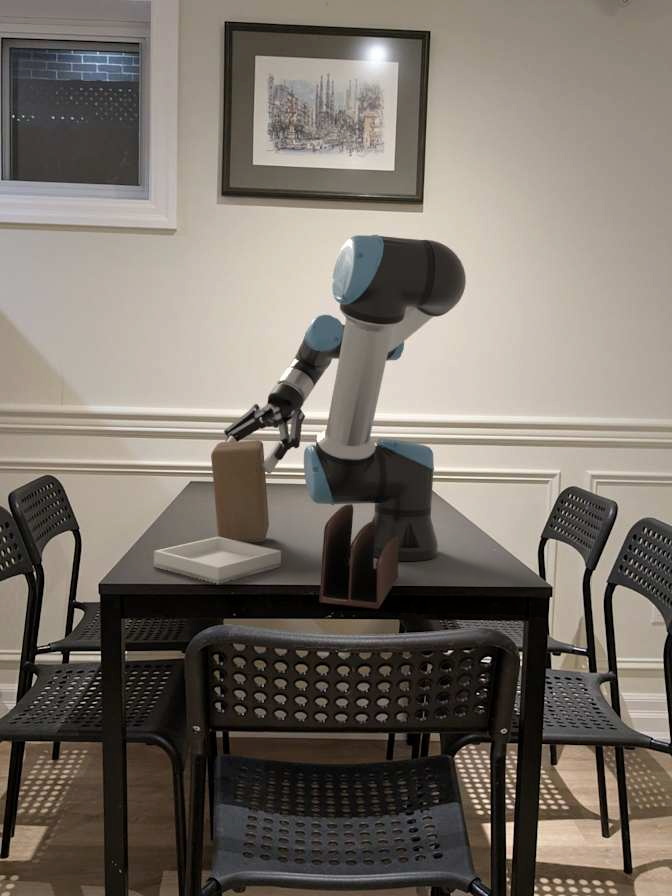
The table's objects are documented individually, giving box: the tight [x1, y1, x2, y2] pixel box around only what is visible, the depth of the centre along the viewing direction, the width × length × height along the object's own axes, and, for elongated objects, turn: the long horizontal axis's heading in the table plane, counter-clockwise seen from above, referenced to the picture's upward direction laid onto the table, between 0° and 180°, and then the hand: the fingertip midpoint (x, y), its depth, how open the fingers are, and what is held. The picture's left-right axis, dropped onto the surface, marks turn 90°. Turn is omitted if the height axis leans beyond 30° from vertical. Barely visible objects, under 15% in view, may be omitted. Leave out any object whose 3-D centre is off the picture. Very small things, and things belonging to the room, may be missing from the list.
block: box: [210, 440, 270, 543], centre depth 168 cm, size 10×10×20 cm
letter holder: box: [318, 504, 399, 610], centre depth 137 cm, size 10×20×14 cm, turn 166°
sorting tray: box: [153, 536, 282, 585], centre depth 149 cm, size 17×17×3 cm
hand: (242, 466), depth 168 cm, fingers closed on block, 13 cm apart
